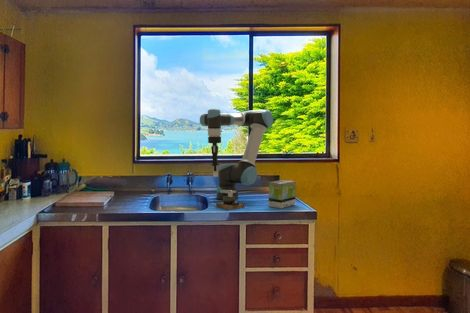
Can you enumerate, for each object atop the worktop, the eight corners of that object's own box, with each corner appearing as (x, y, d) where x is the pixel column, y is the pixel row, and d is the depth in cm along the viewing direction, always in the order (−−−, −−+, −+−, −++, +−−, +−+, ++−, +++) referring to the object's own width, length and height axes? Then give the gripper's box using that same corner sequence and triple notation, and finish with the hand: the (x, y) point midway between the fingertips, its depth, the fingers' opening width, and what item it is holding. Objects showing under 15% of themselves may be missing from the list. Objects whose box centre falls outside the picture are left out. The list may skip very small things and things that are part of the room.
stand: (232, 204, 216) (232, 197, 216) (244, 207, 206) (244, 200, 206) (216, 206, 209) (216, 199, 208) (228, 210, 199) (227, 202, 199)
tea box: (282, 209, 202) (282, 183, 201) (268, 206, 208) (268, 182, 207) (296, 204, 213) (296, 180, 212) (282, 202, 220) (282, 179, 219)
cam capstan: (237, 202, 209) (237, 188, 208) (230, 204, 203) (230, 190, 202) (220, 200, 215) (220, 186, 215) (214, 202, 209) (213, 188, 209)
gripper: (220, 136, 196) (221, 178, 198) (221, 135, 209) (222, 174, 211) (207, 136, 196) (208, 178, 198) (208, 135, 209) (209, 175, 211)
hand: (215, 176), depth 204 cm, fingers closed
